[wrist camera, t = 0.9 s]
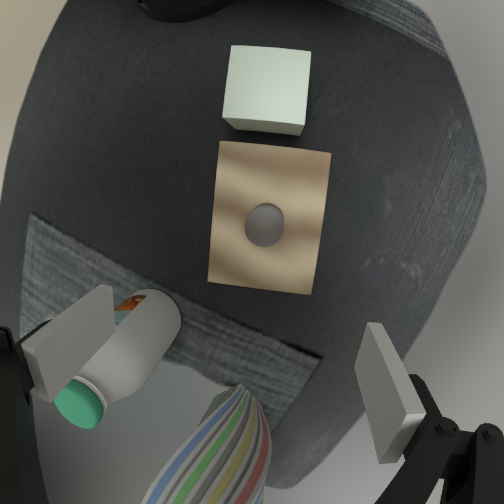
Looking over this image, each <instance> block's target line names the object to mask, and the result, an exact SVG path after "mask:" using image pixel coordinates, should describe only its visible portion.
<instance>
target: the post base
mask: <svg viewBox="0 0 504 504" xmlns="http://www.w3.org/2000/svg"><path fill="white" fill-rule="evenodd" d="M330 161H331V153H326V152H319V151H312V150H305V149H297V148H290V147H281V146H272V145H263V144H253V143H241V142H229V141H220V144H219V154H218V163H217V173H216V184H215V195H214V206H213V217H212V230H211V242H210V256H209V270H208V282H215V283H222V284H229V285H236V286H243V287H251V288H258V289H266V290H274V291H281V292H289V293H298V294H306V295H311V292H312V286H313V280H314V274H315V268H316V262H317V256H318V250H319V243H320V237H321V230H322V223H323V216H324V209H325V201H326V194H327V186H328V178H329V169H330Z"/></svg>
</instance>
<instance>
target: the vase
mask: <svg viewBox="0 0 504 504" xmlns="http://www.w3.org/2000/svg"><path fill="white" fill-rule="evenodd" d="M271 455H272V439H271V433H270V430H269V426H268V423H267V420H266V418H265V415H264V412H263V409H262V404H261V403H260V402H259V401H257V399H256V398H255V397H254V396H252V395H251V394H250V392H249V391H248V390H247V389H245V387H244V386H243V385H242V384H241V383H240V384H238V385H236V386H235V387H232V388H230V389H228V391H225V392H223V393H221V394H220V395H217V396H215V397H214V398H213V400H212V403H211V405H210V406H209V408H208V410H207V412H206V413H205V415H204V417H203V418H202V420H201V422H200V424H199V426H198V428H197V429H196V430H195V431H194V432H193V433H192V434H191V435H190V436H189V437H188V439H187V440H186V441H185V442H184V443H183V444H182V445H181V447H180V448H179V449H178V450H177V451H176V452H175V453H174V454H173V456H172V457H171V458H170V460H169V461H168V462H167V464H166V465H165V466H164V467H163V469H162V470H161V471H160V473H159V474H158V476H157V478H156V479H155V480H154V482H153V483H152V485H151V486H150V488H149V489H148V492H147V493H146V495H145V497H144V499H143V501H142V503H141V504H262V503H263V490H264V485H265V480H266V475H267V471H268V468H269V465H270V461H271Z"/></svg>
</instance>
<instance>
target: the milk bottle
mask: <svg viewBox="0 0 504 504" xmlns="http://www.w3.org/2000/svg"><path fill="white" fill-rule="evenodd" d="M114 314H115V325H116V332H115V333H114V334H113V335H112V336H111V337H110V339H109V340H108V341H107V342H106V343H105V344H104V345H103V346H102V347H101V348H100V349H99V350H98V351H97V352H96V354H95V355H94V356H93V357H92V358H91V359H90V360H89V361H88V362H87V363H86V364H85V365H84V367H83V368H82V369H81V370H80V371H79V372H78V373H77V374H76V375H75V376H74V378H73V379H72V380H71V381H70V382H69V383H68V384H67V385H66V386H65V388H64V389H63V390H62V391H61V392H60V393H59V394H58V395H57V397H56V398H55V399H54V402H55V404H56V407H57V408H58V410H59V411H60V412H61V413H62V415H63V416H64V417H65V418H66V419H67V420H69V421H70V422H71V423H73V424H74V425H76V426H78V427H81V428H86V429H91V428H94V427H95V426H96V425H97V424H98V423H99V422H100V420H101V419H102V417H103V415H104V414H105V413H106V411H107V406H108V405H109V404H111V403H112V402H114V401H116V400H118V399H121V398H124V397H126V396H129V395H130V394H132V393H134V392H135V391H137V390H138V389H139V388H140V387H141V386H142V385H143V384H144V383H145V382H146V380H147V379H148V378H149V377H150V375H151V374H152V372H153V371H154V369H155V368H156V366H157V365H158V363H159V362H160V360H161V359H162V357H163V356H164V354H165V353H166V351H167V350H168V348H169V347H170V345H171V343H172V342H173V340H174V339H175V337H176V336H177V334H178V332H179V330H180V327H181V315H180V312H179V309H178V307H177V305H176V304H175V302H174V301H173V300H172V299H171V298H170V297H169V296H168V295H167V294H165V293H163V292H161V291H159V290H156V289H142V290H139V291H137V292H136V293H134V294H133V295H132V296H130V297H129V298H128V299H127V300H126V301H124V302H123V303H122V304H121V305H120V306H119V307H117V308H116V309H115V310H114Z"/></svg>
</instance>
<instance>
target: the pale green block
mask: <svg viewBox="0 0 504 504" xmlns="http://www.w3.org/2000/svg"><path fill="white" fill-rule="evenodd" d="M310 59H311V52H309V51H301V50H292V49H282V48H271V47H256V46H231V53H230V60H229V68H228V75H227V83H226V91H225V99H224V107H223V116H222V117H223V118H224V119H225V120H226V121H227V122H228V123H229V124H231V125H232V126H233V127H234V128H235V129H237V130H249V131H260V132H270V133H280V134H288V135H296V136H300V135H301V132H302V130H303V127H304V125H305V115H306V105H307V94H308V83H309V71H310Z"/></svg>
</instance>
